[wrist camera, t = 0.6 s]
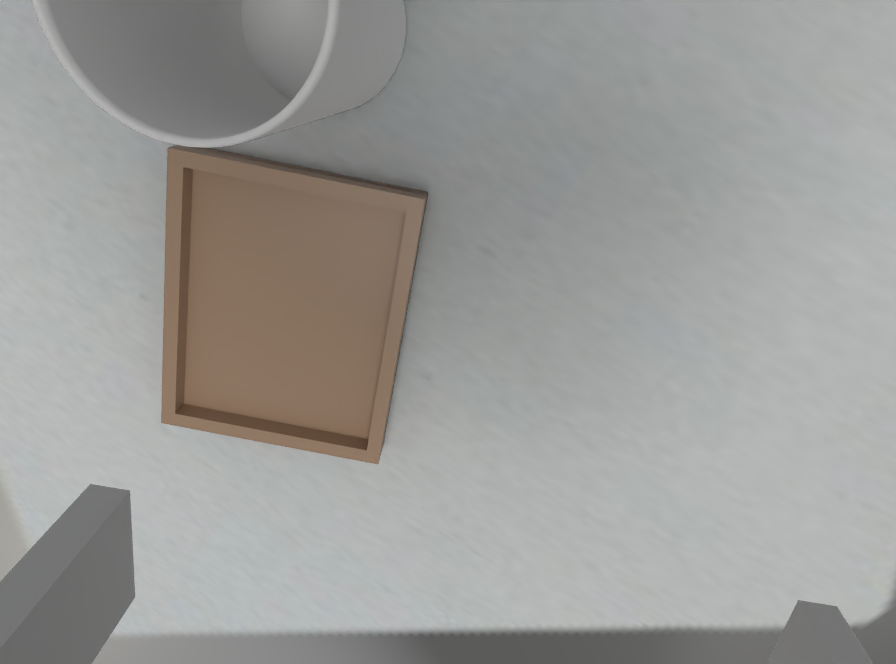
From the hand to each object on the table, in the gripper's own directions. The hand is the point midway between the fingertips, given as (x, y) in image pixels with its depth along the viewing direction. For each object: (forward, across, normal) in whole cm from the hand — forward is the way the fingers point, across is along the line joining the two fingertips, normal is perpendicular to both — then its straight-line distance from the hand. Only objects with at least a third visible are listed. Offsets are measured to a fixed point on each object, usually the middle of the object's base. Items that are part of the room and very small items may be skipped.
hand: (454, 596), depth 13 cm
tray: (+24, -10, -5) cm, 27 cm away
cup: (+25, -9, +10) cm, 28 cm away
